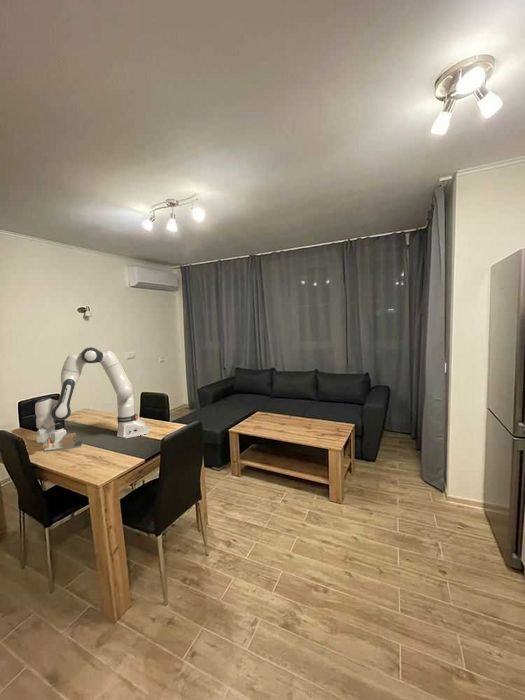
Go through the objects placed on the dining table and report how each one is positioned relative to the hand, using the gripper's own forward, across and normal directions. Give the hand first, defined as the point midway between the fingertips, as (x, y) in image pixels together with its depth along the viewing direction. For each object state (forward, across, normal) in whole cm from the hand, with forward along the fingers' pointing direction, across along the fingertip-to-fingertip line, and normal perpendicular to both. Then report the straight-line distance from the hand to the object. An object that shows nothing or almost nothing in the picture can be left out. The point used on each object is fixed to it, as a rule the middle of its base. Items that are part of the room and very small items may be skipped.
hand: (46, 444), depth 187 cm
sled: (+2, 0, -5) cm, 5 cm away
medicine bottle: (+4, +14, -3) cm, 15 cm away
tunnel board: (+4, 0, -10) cm, 10 cm away
